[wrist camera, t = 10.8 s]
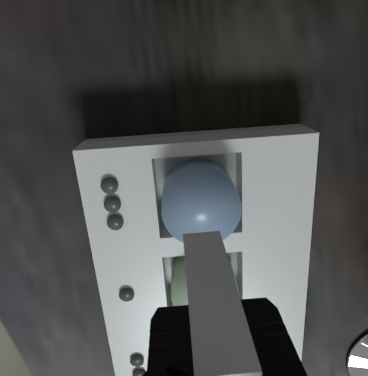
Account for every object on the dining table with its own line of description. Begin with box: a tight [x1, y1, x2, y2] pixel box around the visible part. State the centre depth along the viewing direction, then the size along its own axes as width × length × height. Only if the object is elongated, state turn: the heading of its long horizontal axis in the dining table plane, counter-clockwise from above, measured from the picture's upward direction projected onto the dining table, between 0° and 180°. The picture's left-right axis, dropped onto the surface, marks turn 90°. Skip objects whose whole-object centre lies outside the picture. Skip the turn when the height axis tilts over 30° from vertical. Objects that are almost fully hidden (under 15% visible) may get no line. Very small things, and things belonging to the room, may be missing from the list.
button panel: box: [72, 124, 319, 376], centre depth 24 cm, size 20×14×3 cm
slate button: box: [161, 158, 242, 243], centre depth 20 cm, size 4×4×3 cm
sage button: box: [171, 256, 239, 306], centre depth 23 cm, size 4×4×3 cm
